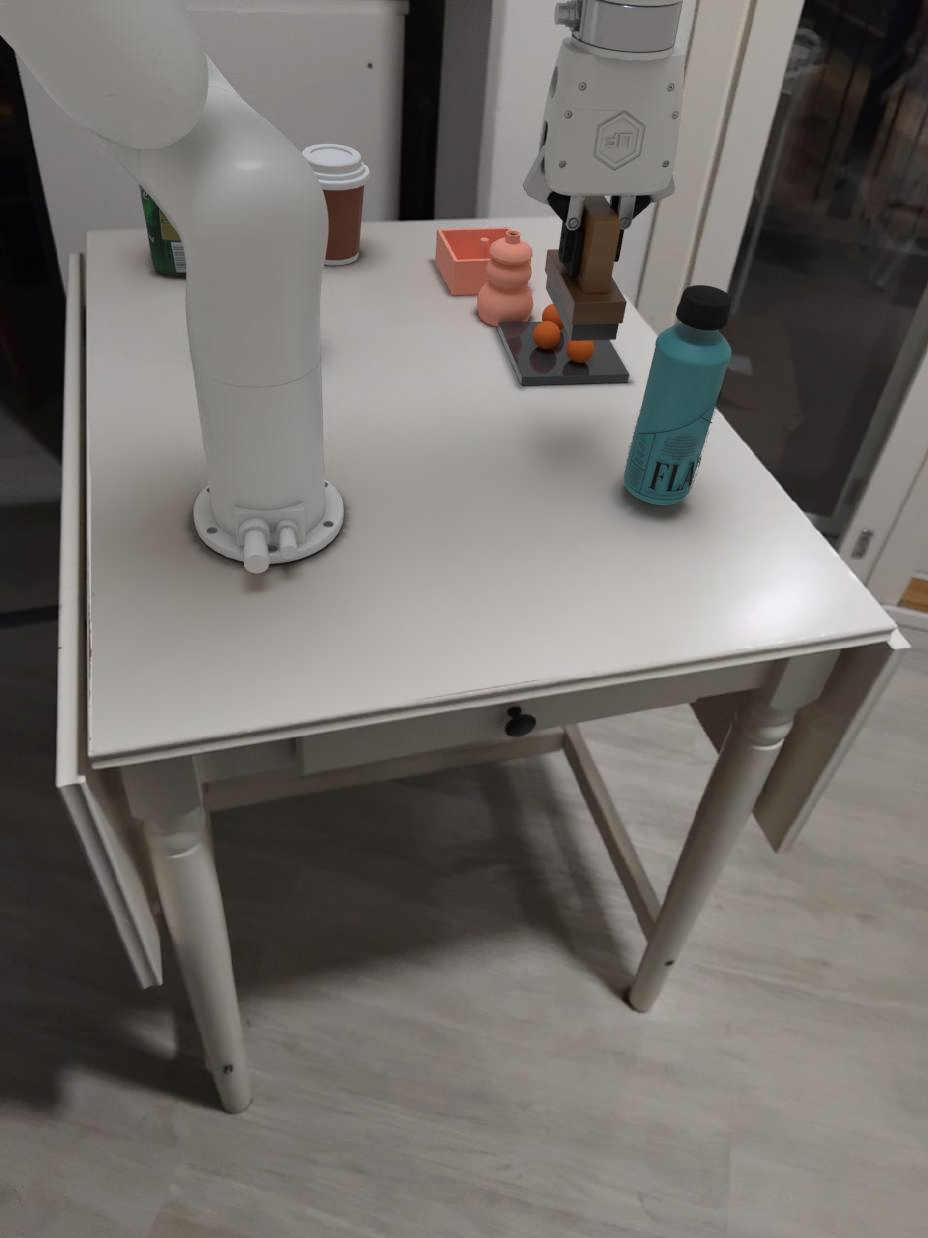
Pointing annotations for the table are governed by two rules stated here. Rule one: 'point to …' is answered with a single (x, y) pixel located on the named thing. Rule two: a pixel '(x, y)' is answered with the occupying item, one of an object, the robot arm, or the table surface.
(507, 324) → the slate tile
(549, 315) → the felt ball
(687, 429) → the beverage bottle
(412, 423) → the table surface
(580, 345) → the felt ball
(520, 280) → the pottery
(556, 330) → the felt ball
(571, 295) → the brush
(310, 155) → the coffee cup
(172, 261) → the coffee jar
